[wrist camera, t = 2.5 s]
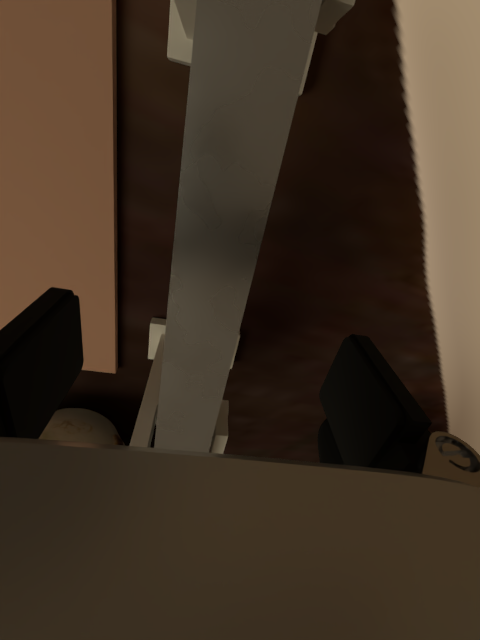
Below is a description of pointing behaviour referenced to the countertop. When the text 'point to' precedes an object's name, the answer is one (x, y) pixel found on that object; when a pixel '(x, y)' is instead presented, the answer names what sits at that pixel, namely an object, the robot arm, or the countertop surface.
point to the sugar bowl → (81, 427)
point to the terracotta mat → (60, 163)
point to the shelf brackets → (180, 51)
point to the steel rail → (225, 196)
